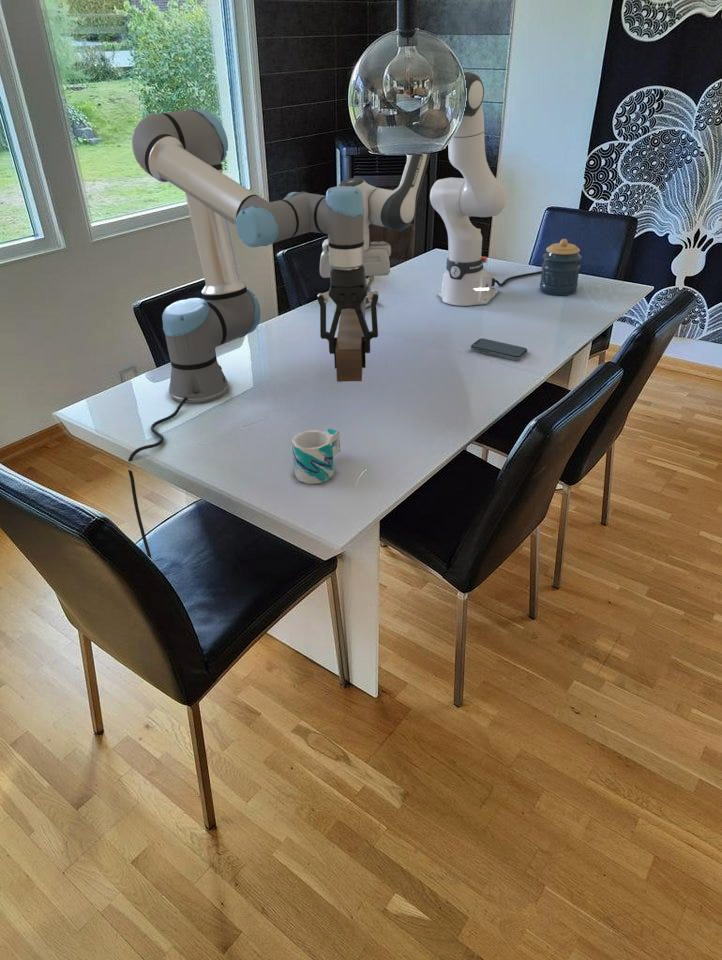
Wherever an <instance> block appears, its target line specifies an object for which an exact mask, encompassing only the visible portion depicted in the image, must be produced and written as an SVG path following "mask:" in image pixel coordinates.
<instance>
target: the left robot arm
mask: <svg viewBox="0 0 722 960" xmlns="http://www.w3.org/2000/svg"><path fill="white" fill-rule="evenodd" d="M228 141H229V140H228V136H227V133H226V130H225V128H224V126H223V124H222V123H221V121H220V120H219V118H218V117H216V116H215V114H213V113H212V112H210V111H209V110H206V109H190V108H189V109H185V110H178V111H169V112H168V111H167V112H162V113H161V112H160V113H159V112H157V113H151V114H148V115H146V116H145V117H143V118H142V119H140V120H139V121H138V123H136V125H135V127H134V129H133V132H132V135H131V150H132V153H133V157H134V158H135V160H136V162H137V164H138V165H139V167H140V168H141V169H142V170H143V171H144V172H145V173H146V174H148V176H149V175H150V177H152V178H154V179H155V180H156V181H158V182H163V183H170V184H172V185H173V186H175V187H176V188H178V189H179V190H181V191H182V192H183V193H184V194H185V195H184V196H185V199H186V200H185V201H186V204H187V208H188V212H189V217H190V222H191V225H192V230H193V235H194V239H195V243H196V248H197V253H198V257H199V261H200V265H201V270H202V274H203V279H204V282H205V285H204V287H203V289H202V290H201V295H202V298H199V297H190V298H187V299H180V300H177V301H175V302H173V303H171V304H170V305H168V306H166V308H164V310H163V312H162V316H161V318H162V330H163V333H164V337H165V342H166V345H167V352H168V356H169V361H170V367H171V369H170V370H171V371H170V377H169V386H168V393H169V397H170V398H171V400H173V401H175V402H177V403H179V404H178V406H177V407H176V409H175V411H174V412H173V413H171V414H170V415H168V416H166V417H163V418H161V419H158V420H157V421H154V422H153V423H152V424H151V426H150V431H151V432H152V433H153V435H155V436H156V437H158V438H159V441H157V442H155V443H152V444H147V445H143V446H139V447H138V448H135V450H133V452H131V454H130V455H129V457H128V460H127V461H128V462H132V461H133V460H134V457H135V456H136V455H137V454H138V453H139V452H141V451H145V450H149V449H152V448H156V447H159V446H161V445H162V444H163V442H164V440H165V439H164V436H163V435H162V434H161V433H160V432H158V431H157V430H156V429H155V428H156V426H158V425H159V424H162V423H164V422H167V421H169V420H171V419H173V418H174V417H175V416H177V414H179V412H180V410H181V409H182V407H183V406H184V404H188V405H189V404H190V405H196V404H197V405H198V404H204V403H208V402H212V401H214V400H217V399H219V398H221V397H223V396H224V395H225V394H227V392H228V391H229V383H228V379H227V378H226V375H225V374H224V372H223V368H222V366H221V365H220V363H219V362H218V358H217V352H216V348H217V347H220V346H223V345H225V344H228V343H229V342H230V343H231V342H232V341H234V340H237V339H241V338H244V337H245V336H247V335H248V334H250V333H252V332H254V331H255V330H256V329H257V327H258V326H259V324H260V321H261V306H260V305H261V304H260V302H259V300H258V298H257V297H255V296H256V295H255V293H254V292H253V291H251V290H250V289H248V288H247V284H246V283H245V282H244V281H243V280H242V279H240V278H239V277H240V276H239V273H238V268H237V264H236V258H235V254H234V249H233V244H232V239H231V234H230V229H229V225H228V222H230V223H231V224H232V225H234V226H235V228H236V229H235V230H236V233H237V235H238V237H239V238H240V239H241V241H242V243H243V244H244V245H246V246H247V247H249V248H259V247H267V246H269V245H272V244H275V243H278V242H281V241H284V240H287V239H291V238H294V237H298V236H301V235H304V234H307V233H317V234H322V235H327V239H328V243H329V263H330V265H331V267H330V278H329V283H330V284H329V289H328V291H326V292H318V294H317V297H316V298H317V302H318V304H319V329H320V333H319V334H320V335H319V336H320V339H323V340H327V341H328V352H329V354H330V355H333V358H334V369H336V342H337V336H336V332H337V330H338V326H339V321H340V314H341V310H342V309H347V308H349V309H355V312H356V314H357V317H358V320H359V323H360V326H361V329H362V332H363V335H364V337H362V369H366V367H367V365H366V364H367V363H366V359H367V358H366V354H370V353H371V340H372V339H375V338H378V337H379V328H378V310H377V304H378V301H379V292H378V291H367V288H366V287H365V268H364V266H363V264H364V240H363V227H364V208H363V196H362V192H361V190H360V189H359V188H357V187H352V186H348V187H347V186H338V185H337V186H333V187H329V188H328V189H327V191H326V193H325V195H323V194H316V193H311V192H310V193H309V192H307V191H300V192H299V191H291V192H289V193H287V194H286V196H285V197H284V198H283V199H279V200H275V201H268V200H266V199H265V198H263V197H261V196H259V195H258V194H256V193H255V192H253V191H252V190H250V189H248V188H247V187H245V186H243V185H242V184H240V183H239V182H238V181H236V180H234V179H233V178H231V177H229V176H227V175H226V174H225V173H224V172H223V171H224V168H223V164H222V162H224V160H225V159H226V158H227V155H228V153H227V152H228V151H229V142H228ZM365 297H368V301H369V302H371V305H370V315H371V330H370V329H369V326H368V323H367V320H366V316H365V317H364V314H363V311H362V307H361V302H362V301H363V300H364V298H365ZM329 298H330V299H331V300H332V301H333V303H334V304H335V305H336V306H335V307H336V309H335V308H334V313H333V317H332V320H331V325H330V328H329V331H327V303H328V302H329ZM335 336H336V337H335ZM127 471H128V476H129V479H130V487H131V494H132V499H133V505H134V510H135V514H136V519H137V523H138V527H139V531H140V534H141V538H142V542H143V545H144V548H145V553H146V555H147V557H148V556H149V557H150V558H151V557H152V554H151V550H150V546H149V543H148V540H147V535H146V533H145V530H144V529H145V528H144V525H143V521H142V518H141V512H140V507H139V503H138V497H137V491H136V484H135V483H136V482H135V477H134V473H133V471H132V470H131V469H127ZM151 559H152V560H153V557H152V558H151Z"/></svg>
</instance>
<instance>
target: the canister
mask: <svg viewBox="0 0 722 960" xmlns="http://www.w3.org/2000/svg"><path fill="white" fill-rule="evenodd" d="M545 251H546V252H545V253H543V255H542V258H543V263H542V264H541V271H542V273H541V274H540V281H539V290H540V292H542V293H545V294H547V295H551V296H552V295H554V296H568V295H572V294H575V293H576V292H577V289H578V285H579V284H578V282H579V274H580V269H581V265H580V261H581V260H582V255H581V254H580V251H581V249H580V248H579V247H578V246H577V245H576V244H573V243H569V241H568V239H567V238H561V240H560V241H559V242H556V243H552V244H550V245H549V246H547V247H546V249H545Z"/></svg>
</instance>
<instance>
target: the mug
mask: <svg viewBox="0 0 722 960" xmlns="http://www.w3.org/2000/svg"><path fill="white" fill-rule="evenodd" d="M340 434H341V433H340V430H337V429H333V428H331V427H329V428H328V429H327V430H325V431H323V430H319V429H311V430H309V429H308V430H304V431H301V432H299V433H297V434H295V435H294V436H293V438H292V439H291V448H292V449H291V450H292V457H293V459H292V460H293V467H294V469H293V470H294V476H295V477H296V478H297V481H299V482H302V483H305V484H308V485H314V484H322V483H325V482H327V481H329V480H331V479H332V477H333V475H334V474H335V467H334V457H336V456H337V455H338V454H339V453H340V452H341V435H340Z"/></svg>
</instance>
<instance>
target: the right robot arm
mask: <svg viewBox="0 0 722 960" xmlns="http://www.w3.org/2000/svg"><path fill="white" fill-rule="evenodd" d="M463 72H464V71H463ZM464 75H465V80H466V88H467V101H466V107H465V111H464V115H463V119H462V122H461V124H460V126H459V128H458V130H457V132H456V134H455V135H454V137H453V138H452V140H451V141H450V143H449V144H448V143H447V147H448V148H447V149H448V151H447V152H448V160H449V163H450V164H451V165H452V167H453V168H454V169H456V170H458V171H459V172H460V173H461V175H462V177H445V178H440V179H437V180H436V181H435V182H434V183H433V185H432V186H431V188H430V192H429V202H430V205H431V207H432V209H433V210H435V211H436V212H437V213H438V215H439V216H440V217H441V219H442V221H443V223H444V227H445V229H446V232H447V244H448V245H447V247H448V249H447V250H448V252H447V258H446V263H445V265H446V267H445V268H446V271H445V272H444V273H443V277H442V286H441V291H440V292H439V293H438V297H440V298H441V301H442V302H444V303H445V304H448V305H452V306H456V307H457V306H458V307H459V306H460V307H469V306H477V305H482V306H483V305H488V304H489V303H490V302H491V301H492V300H493V298H495V296H497V294H499V289H497V288H495V286H496V284H497V286H498V287H504V285H505V284H507V283H508V281H511V280H515V279H519V278H524V277H529V276H536V275H541V273H542V270H539V271H534V272H527V273H523V274H518V275H514V276H510V277H507V278H506V279H504V280H503V282H500V280H497V279H496V278H494V277H492V276H491V274H489V273H488V271H486V270H485V269H484V264H486V263H487V261H488V257H487V256H482V251H483V249H482V248H483V235H482V233H481V232H480V231H479V230H478V229H479V228H477V227H476V226H475V225H473V223H472V222H471V220H470V217H468V216H472V217H475V218H476V217H477V218H478V217H479V218H488V217H490V218H491V217H496V216H499V215H500V214H501V213H502V212H503V210H504V208H505V207H506V205H507V197H508V196H507V191H506V187H505V186H504V185H503V184H502V183H501V182H500V181H499V180H498V179H497V178H496V176H495V175H494V174H493V172H492V170H491V168H490V165H489V163H488V161H487V156H486V155H487V154H486V143H485V142H486V141H485V139H486V138H485V116H484V108H483V101H484V97H485V86H484V84H483V83H484V82H483V81H482V79H481V77H480V76H479V75H478V74H476V73H473V72H470V71H465V72H464ZM430 157H431V153H427V154H415V155H407V154H406V163H405V165H404V169H403V172H402V176H401V179H400V182H399V185H398V186H397V187H396V188H395V189H393V190H392V189H386V188H382V187H377V186H373V185H371V184H369V183H368V182H366V181H365V179H363V178H362V177H352V178H347V179H344V180H342V181H341V182H339V184H338V185H337V187H338V186H347V187H348V186H352V187H357V188H359V189H360V190H361V192H362V196H363V208H364V227H363V240H364V264H363V266H364V268H365V276H366V277H368V280H369V282H368V283H366V288H367V291H371V286H372V284H373V283H374V281H375V277H378V276H379V277H381V276H384V277H385V276H388V275H390V273H391V263H390V257H391V255H392V246H391V244H390V243H388V242H386V241H385V240H381V241H375V240H374V241H371V240H370V228H369V226H370V225H374V226H378V227H382V228H386V229H389V230H392V231H394V232H401V231H404V230H405V229H407V228H408V227H409V226H410V225H411V224H412V222H413V221H414V219H415V217H416V212H417V204H418V199H419V195H420V191H421V188H422V185H423V183H424V182H423V181H424V178H425V175H426V172H427V168H428V165H429V162H430ZM330 267H331V265H330V263H329V243H328V238H326V239H324V240H323V241H322V252H321V254H320V260H319V275H320V277H322V278H323V279H330ZM371 292H372V291H371Z"/></svg>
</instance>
